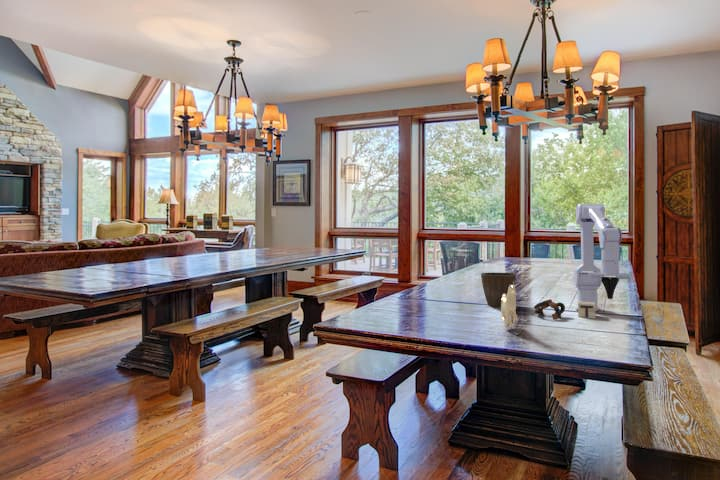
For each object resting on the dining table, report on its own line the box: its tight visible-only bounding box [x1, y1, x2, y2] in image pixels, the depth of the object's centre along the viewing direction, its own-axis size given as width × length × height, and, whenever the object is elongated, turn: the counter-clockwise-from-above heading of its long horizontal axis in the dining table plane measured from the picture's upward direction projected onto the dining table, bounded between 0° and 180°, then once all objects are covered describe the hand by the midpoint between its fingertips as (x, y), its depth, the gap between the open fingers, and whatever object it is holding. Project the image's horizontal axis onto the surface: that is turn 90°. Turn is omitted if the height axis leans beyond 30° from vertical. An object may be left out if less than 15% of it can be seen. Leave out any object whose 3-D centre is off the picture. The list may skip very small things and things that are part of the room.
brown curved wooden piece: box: [533, 299, 566, 321], centre depth 191 cm, size 12×9×8 cm
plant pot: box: [480, 272, 517, 309], centre depth 213 cm, size 15×15×16 cm
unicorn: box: [500, 281, 518, 329], centre depth 172 cm, size 20×4×17 cm, turn 174°
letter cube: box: [577, 302, 596, 319], centre depth 192 cm, size 6×6×6 cm
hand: (610, 298), depth 176 cm, fingers closed
